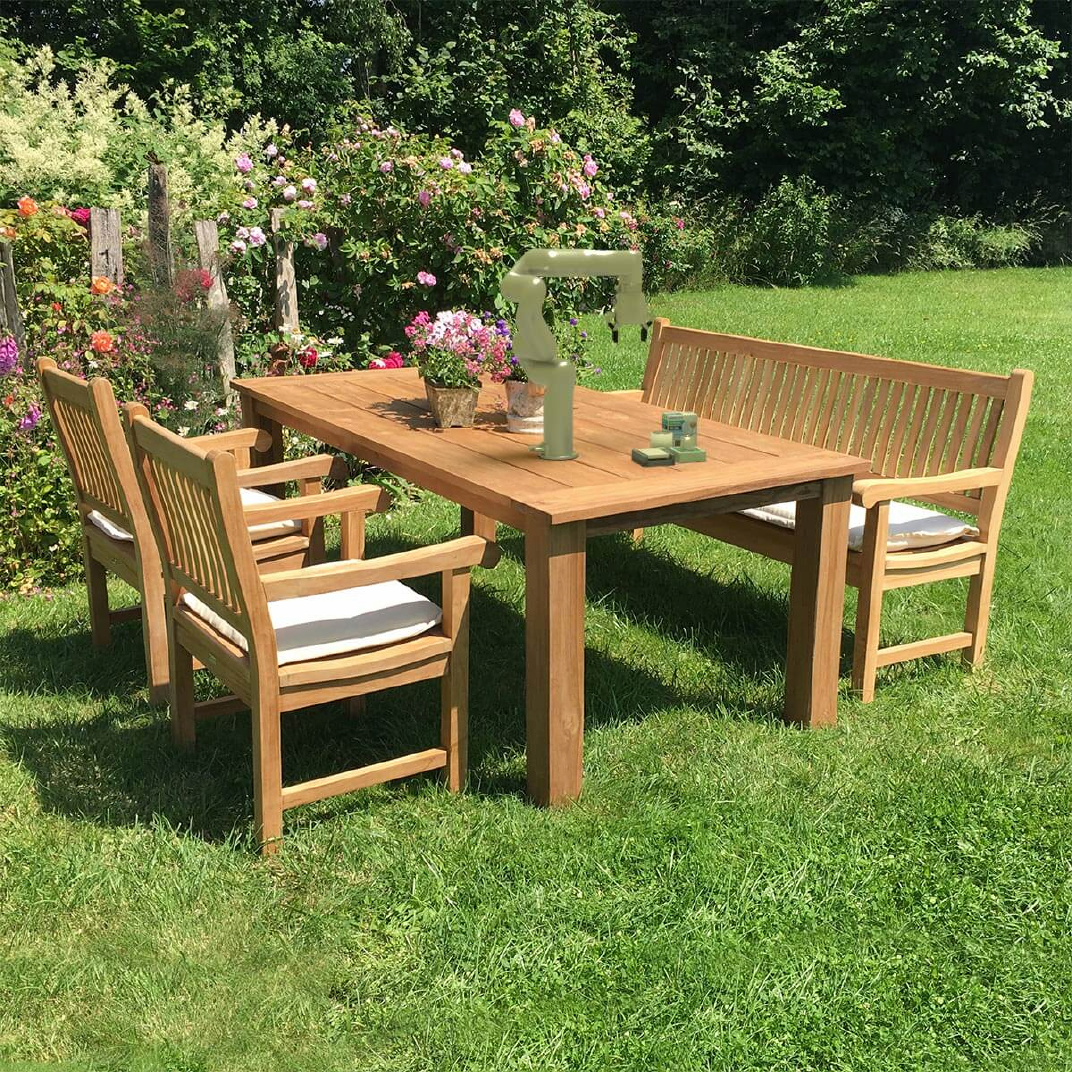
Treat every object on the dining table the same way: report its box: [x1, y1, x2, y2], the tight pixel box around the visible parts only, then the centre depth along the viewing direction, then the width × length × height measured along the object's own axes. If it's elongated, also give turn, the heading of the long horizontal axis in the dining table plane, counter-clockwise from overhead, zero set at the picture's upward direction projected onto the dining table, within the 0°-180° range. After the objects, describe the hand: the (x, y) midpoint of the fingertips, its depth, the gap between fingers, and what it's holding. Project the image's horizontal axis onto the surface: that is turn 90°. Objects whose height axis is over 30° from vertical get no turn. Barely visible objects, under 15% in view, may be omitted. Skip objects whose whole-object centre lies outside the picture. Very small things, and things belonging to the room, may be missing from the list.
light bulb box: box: [661, 411, 699, 448], centre depth 401 cm, size 11×7×11 cm, turn 105°
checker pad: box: [637, 448, 669, 459], centre depth 376 cm, size 7×10×1 cm
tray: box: [669, 445, 707, 464], centre depth 380 cm, size 9×9×3 cm
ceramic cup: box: [649, 430, 673, 451], centre depth 388 cm, size 7×7×7 cm
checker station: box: [630, 447, 676, 468], centre depth 376 cm, size 10×12×3 cm
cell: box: [680, 435, 695, 453], centre depth 379 cm, size 4×4×7 cm
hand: (629, 342), depth 395 cm, fingers open, 9 cm apart
